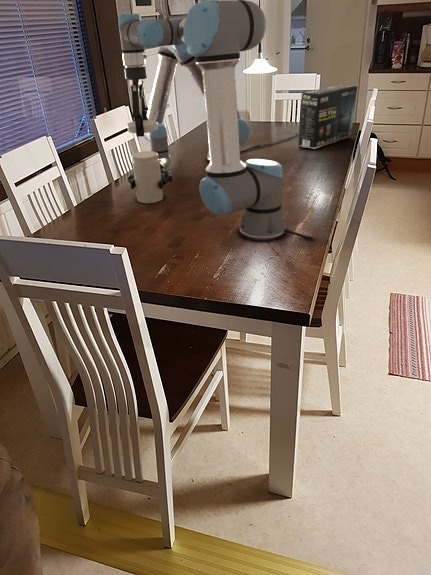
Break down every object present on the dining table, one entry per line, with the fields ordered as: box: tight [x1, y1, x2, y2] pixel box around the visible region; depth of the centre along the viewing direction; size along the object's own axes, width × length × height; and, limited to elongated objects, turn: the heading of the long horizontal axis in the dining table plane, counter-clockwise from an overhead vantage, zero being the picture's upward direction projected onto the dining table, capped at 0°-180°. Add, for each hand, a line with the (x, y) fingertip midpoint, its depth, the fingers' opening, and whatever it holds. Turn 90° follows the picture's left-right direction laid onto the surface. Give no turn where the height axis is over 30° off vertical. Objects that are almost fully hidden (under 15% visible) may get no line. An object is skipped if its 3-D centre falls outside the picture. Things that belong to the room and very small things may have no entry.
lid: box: [126, 120, 158, 134], centre depth 167 cm, size 11×11×2 cm
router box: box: [297, 84, 358, 151], centre depth 238 cm, size 36×11×27 cm, turn 134°
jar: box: [131, 150, 164, 204], centre depth 176 cm, size 10×10×17 cm
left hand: (146, 185), depth 174 cm, fingers closed on jar, 10 cm apart
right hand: (142, 132), depth 168 cm, fingers closed on lid, 11 cm apart
